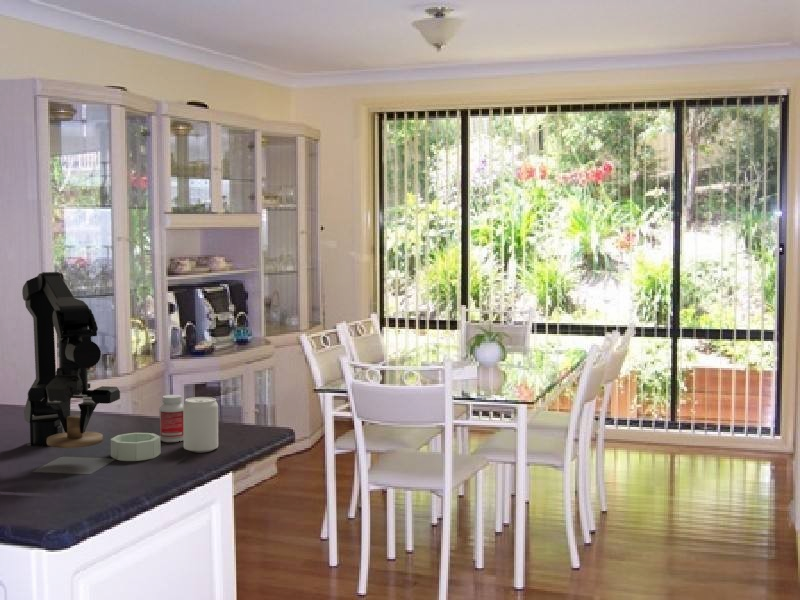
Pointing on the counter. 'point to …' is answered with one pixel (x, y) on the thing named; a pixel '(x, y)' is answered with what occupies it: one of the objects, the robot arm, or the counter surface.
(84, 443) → the lid
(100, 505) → the counter surface
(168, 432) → the pill bottle
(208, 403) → the beverage can
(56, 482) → the counter surface
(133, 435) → the bowl
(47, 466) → the mat
